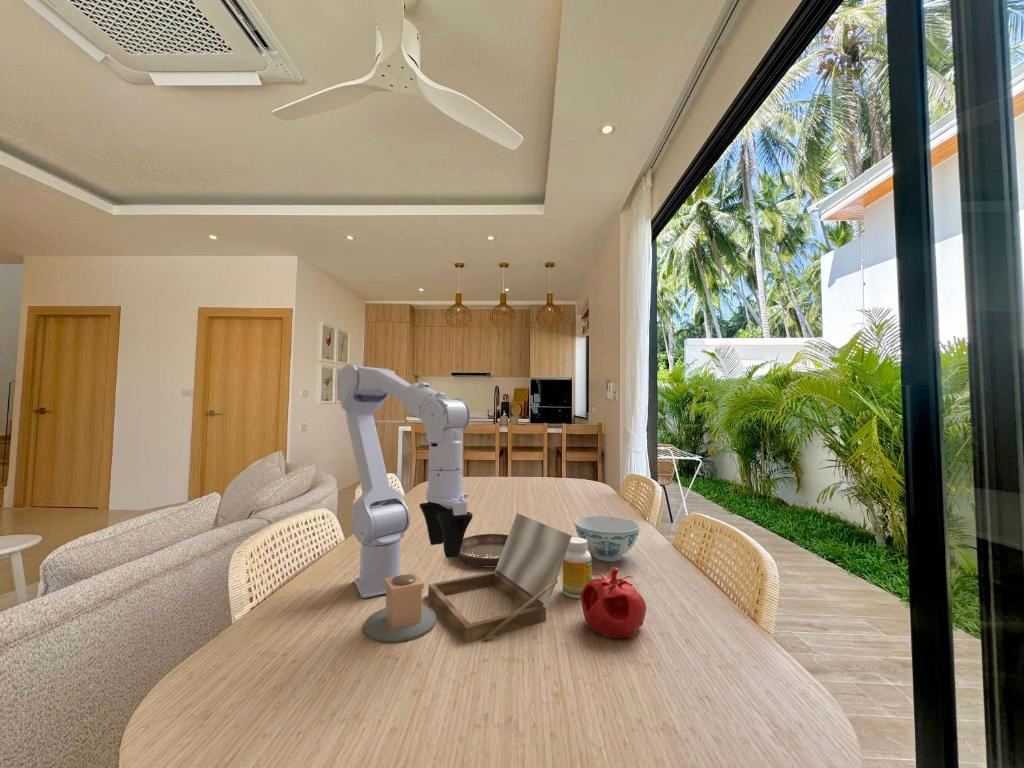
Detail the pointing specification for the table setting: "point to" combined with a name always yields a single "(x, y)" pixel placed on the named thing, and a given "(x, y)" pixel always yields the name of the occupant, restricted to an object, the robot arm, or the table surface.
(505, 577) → the cold frame
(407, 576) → the orange block with dome
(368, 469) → the robot arm
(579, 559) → the supplement bottle
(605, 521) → the chinaware
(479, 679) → the table surface
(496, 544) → the plant saucer
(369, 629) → the mat
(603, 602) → the hollow red tomato
